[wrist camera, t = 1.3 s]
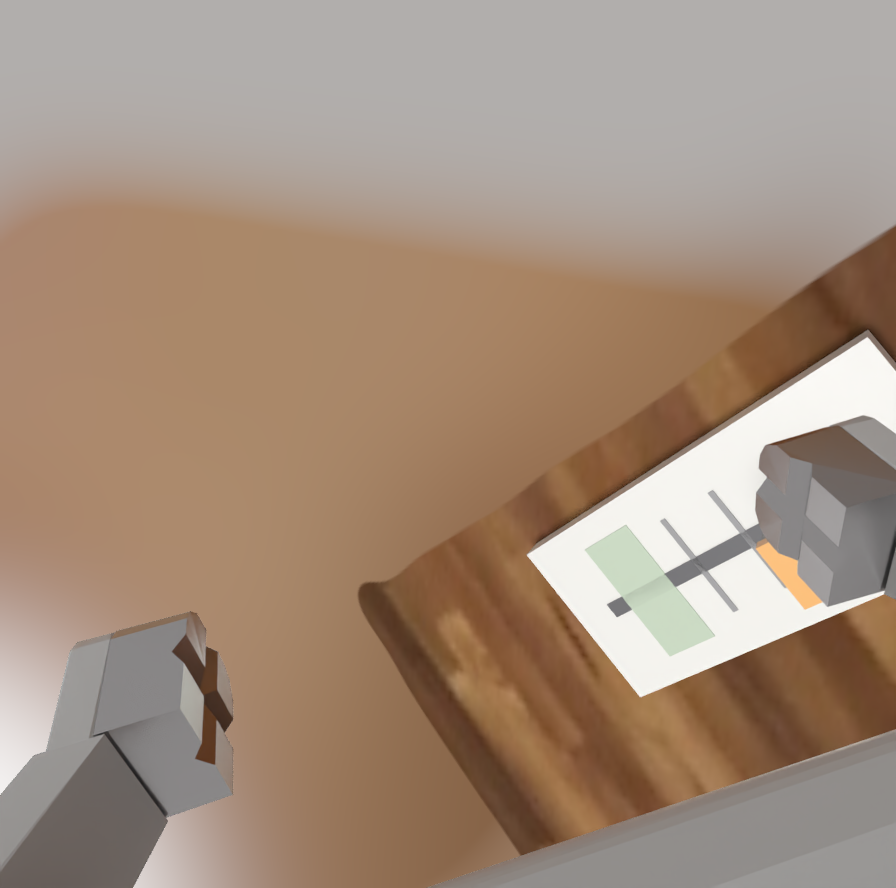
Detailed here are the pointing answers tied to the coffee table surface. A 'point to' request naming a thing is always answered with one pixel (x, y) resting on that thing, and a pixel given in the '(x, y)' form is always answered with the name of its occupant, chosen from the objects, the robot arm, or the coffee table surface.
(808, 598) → the fader knob
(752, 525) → the console
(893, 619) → the coffee table surface
